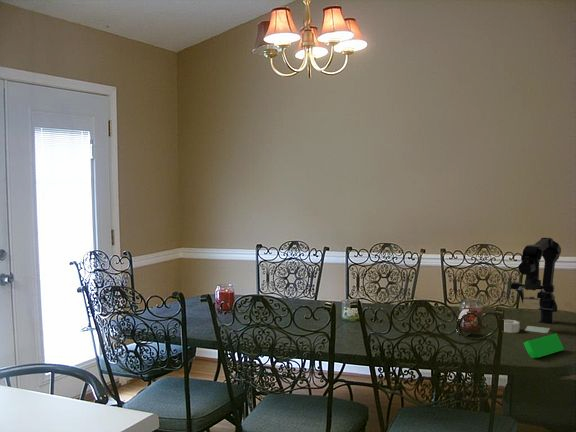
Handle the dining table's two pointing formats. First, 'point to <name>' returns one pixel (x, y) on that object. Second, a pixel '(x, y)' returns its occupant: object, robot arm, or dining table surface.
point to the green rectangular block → (543, 346)
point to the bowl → (511, 326)
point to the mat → (537, 329)
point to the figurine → (463, 313)
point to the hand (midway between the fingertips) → (531, 305)
